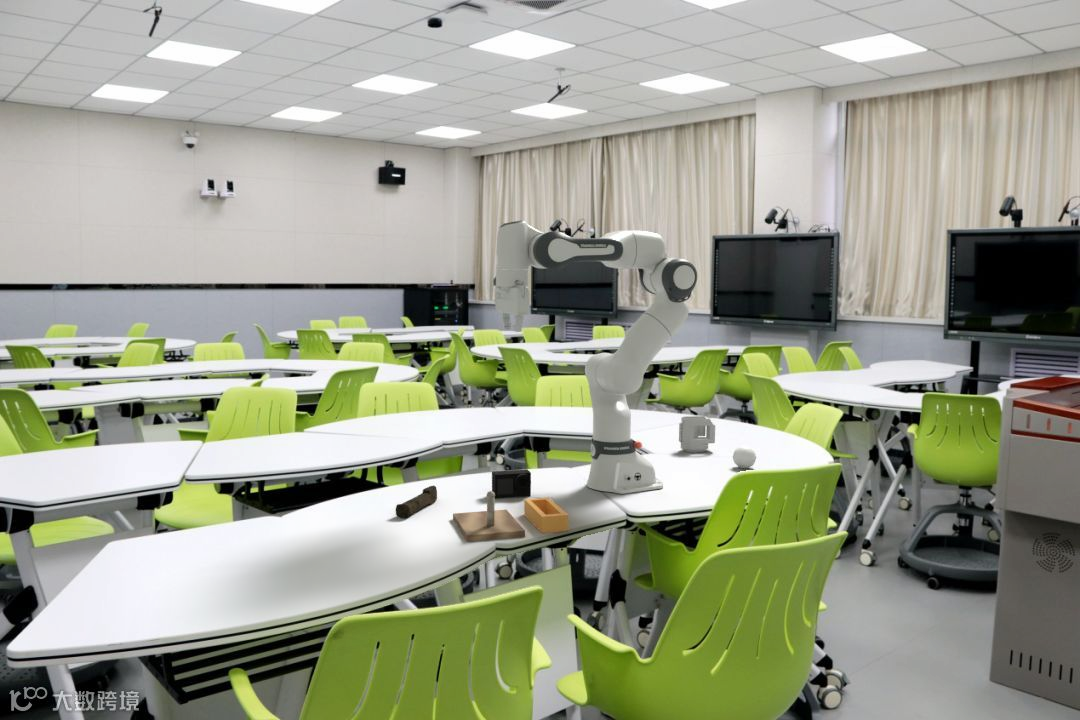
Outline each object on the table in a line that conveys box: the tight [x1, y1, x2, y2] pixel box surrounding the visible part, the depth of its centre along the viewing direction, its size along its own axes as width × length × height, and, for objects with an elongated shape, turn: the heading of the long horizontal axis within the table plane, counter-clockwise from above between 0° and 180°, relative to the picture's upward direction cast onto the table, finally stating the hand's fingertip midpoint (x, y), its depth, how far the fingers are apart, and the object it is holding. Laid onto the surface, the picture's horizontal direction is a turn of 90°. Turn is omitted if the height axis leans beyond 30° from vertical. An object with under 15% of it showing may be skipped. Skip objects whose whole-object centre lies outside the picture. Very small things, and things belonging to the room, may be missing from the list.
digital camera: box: [491, 468, 532, 500], centre depth 230 cm, size 10×5×7 cm, turn 106°
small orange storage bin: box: [523, 497, 569, 534], centre depth 206 cm, size 7×16×4 cm, turn 17°
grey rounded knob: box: [732, 445, 757, 469], centre depth 267 cm, size 10×7×7 cm
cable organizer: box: [678, 415, 716, 453], centre depth 291 cm, size 7×12×12 cm, turn 98°
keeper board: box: [452, 490, 526, 543], centre depth 201 cm, size 14×18×10 cm
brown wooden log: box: [395, 485, 438, 519], centre depth 217 cm, size 19×4×5 cm, turn 157°
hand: (512, 330), depth 227 cm, fingers open, 8 cm apart
